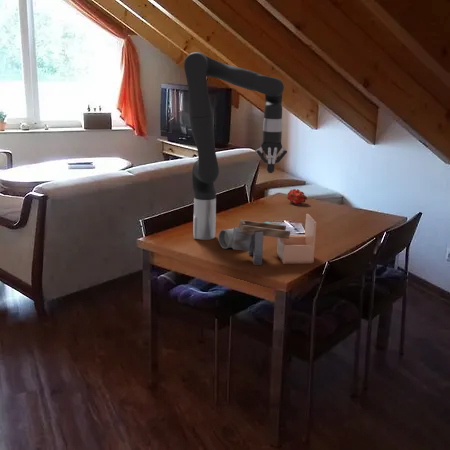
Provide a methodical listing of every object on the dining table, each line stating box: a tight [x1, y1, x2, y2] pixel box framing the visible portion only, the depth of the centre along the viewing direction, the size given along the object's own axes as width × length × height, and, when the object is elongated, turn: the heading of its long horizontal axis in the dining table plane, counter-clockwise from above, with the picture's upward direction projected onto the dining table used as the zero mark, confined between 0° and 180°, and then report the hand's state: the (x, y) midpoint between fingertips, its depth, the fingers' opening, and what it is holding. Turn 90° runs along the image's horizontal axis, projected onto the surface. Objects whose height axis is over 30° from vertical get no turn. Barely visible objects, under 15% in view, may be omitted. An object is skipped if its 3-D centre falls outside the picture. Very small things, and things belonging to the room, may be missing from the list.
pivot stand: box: [247, 231, 264, 266], centre depth 209 cm, size 3×13×12 cm, turn 7°
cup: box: [276, 213, 317, 265], centre depth 211 cm, size 12×12×16 cm
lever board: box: [231, 218, 291, 252], centre depth 212 cm, size 20×16×10 cm
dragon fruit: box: [286, 188, 308, 206], centre depth 293 cm, size 8×8×12 cm
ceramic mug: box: [218, 228, 234, 250], centre depth 224 cm, size 11×8×8 cm
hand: (270, 172), depth 225 cm, fingers closed
